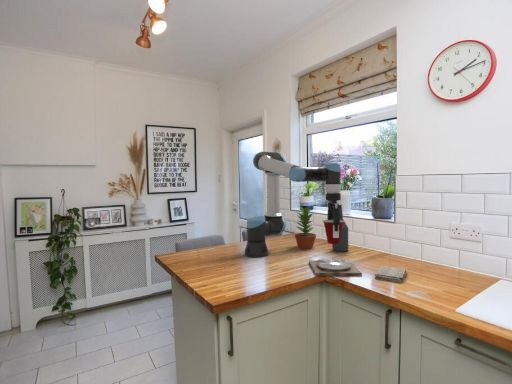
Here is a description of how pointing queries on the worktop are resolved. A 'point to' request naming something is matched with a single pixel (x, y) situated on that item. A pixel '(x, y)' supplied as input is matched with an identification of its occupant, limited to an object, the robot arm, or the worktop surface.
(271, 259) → the worktop surface
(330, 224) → the plastic cup
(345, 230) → the bottle
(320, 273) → the mount board
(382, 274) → the washcloth
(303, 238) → the potted plant
